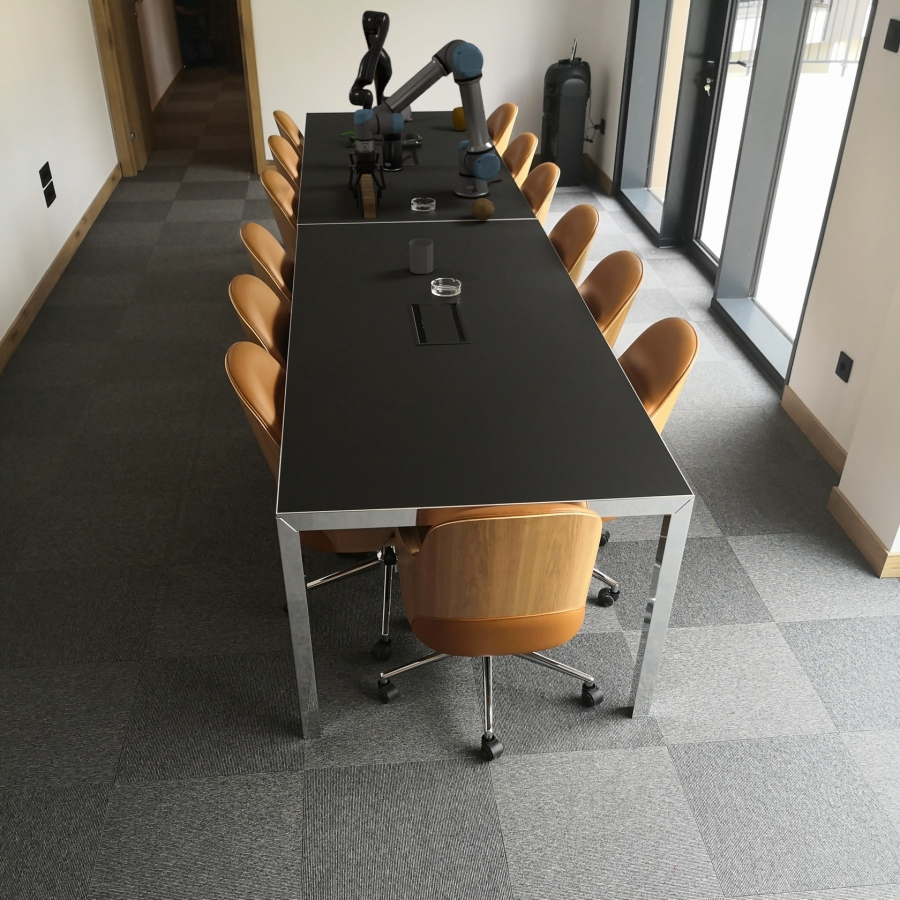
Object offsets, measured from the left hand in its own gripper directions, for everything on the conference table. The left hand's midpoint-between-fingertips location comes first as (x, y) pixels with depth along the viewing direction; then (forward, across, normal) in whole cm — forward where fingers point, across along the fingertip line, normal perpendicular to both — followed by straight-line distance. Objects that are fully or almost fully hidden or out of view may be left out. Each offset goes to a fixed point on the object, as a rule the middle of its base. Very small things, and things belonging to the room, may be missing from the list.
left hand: (365, 175), depth 391 cm
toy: (+7, +22, +133) cm, 135 cm away
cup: (+5, +16, -104) cm, 106 cm away
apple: (+7, +58, +109) cm, 123 cm away
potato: (+6, +46, -50) cm, 68 cm away
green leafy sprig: (+7, +4, +82) cm, 82 cm away
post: (+6, 0, -18) cm, 19 cm away
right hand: (+3, 0, -37) cm, 37 cm away
